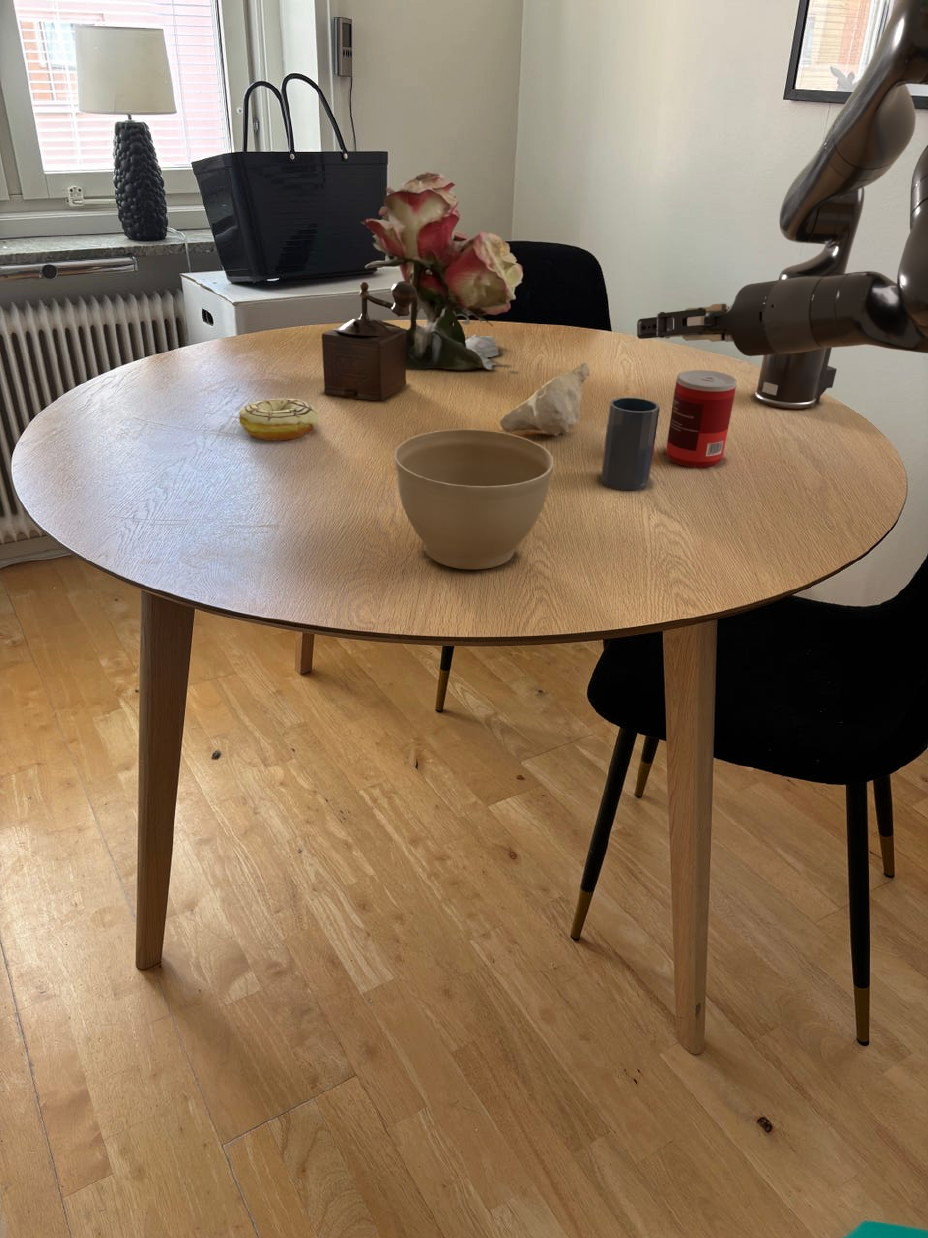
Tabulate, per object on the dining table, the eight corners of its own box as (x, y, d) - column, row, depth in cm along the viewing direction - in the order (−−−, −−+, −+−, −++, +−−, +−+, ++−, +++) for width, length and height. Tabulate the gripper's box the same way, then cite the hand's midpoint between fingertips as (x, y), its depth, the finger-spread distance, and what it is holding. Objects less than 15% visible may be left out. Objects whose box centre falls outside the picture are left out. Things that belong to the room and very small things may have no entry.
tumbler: (632, 470, 119) (642, 395, 114) (657, 487, 114) (669, 409, 109) (592, 475, 117) (600, 399, 112) (616, 493, 112) (625, 414, 107)
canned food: (724, 452, 126) (739, 373, 120) (719, 471, 119) (734, 389, 114) (669, 444, 128) (681, 366, 122) (661, 463, 121) (673, 382, 116)
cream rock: (526, 464, 125) (615, 396, 122) (494, 421, 124) (583, 351, 121) (530, 459, 140) (610, 398, 137) (502, 421, 139) (582, 359, 136)
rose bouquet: (519, 373, 157) (531, 182, 142) (351, 367, 157) (345, 175, 142) (514, 338, 179) (524, 169, 164) (366, 333, 179) (363, 164, 164)
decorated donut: (333, 433, 128) (331, 407, 126) (266, 449, 121) (264, 421, 119) (292, 414, 134) (291, 389, 132) (227, 428, 128) (225, 402, 126)
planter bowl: (428, 599, 87) (429, 494, 82) (374, 532, 100) (372, 437, 95) (573, 572, 93) (583, 473, 88) (505, 512, 106) (510, 421, 100)
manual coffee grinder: (319, 395, 143) (313, 275, 134) (350, 377, 152) (347, 263, 143) (410, 408, 139) (410, 285, 130) (436, 389, 148) (438, 273, 139)
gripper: (822, 281, 99) (698, 298, 111) (749, 275, 90) (622, 293, 102) (819, 353, 101) (697, 361, 113) (747, 353, 92) (622, 362, 104)
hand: (661, 329), depth 108 cm, fingers open, 8 cm apart
